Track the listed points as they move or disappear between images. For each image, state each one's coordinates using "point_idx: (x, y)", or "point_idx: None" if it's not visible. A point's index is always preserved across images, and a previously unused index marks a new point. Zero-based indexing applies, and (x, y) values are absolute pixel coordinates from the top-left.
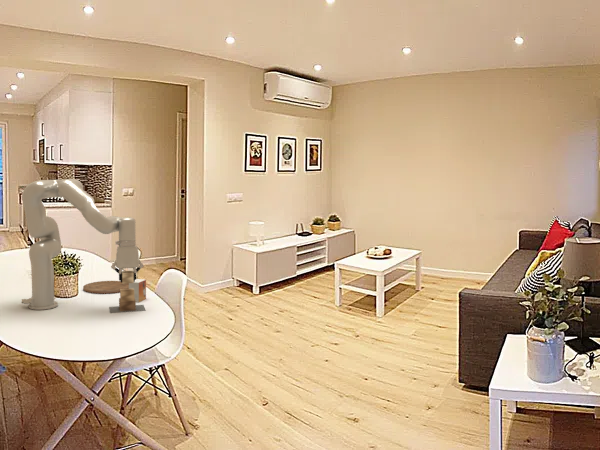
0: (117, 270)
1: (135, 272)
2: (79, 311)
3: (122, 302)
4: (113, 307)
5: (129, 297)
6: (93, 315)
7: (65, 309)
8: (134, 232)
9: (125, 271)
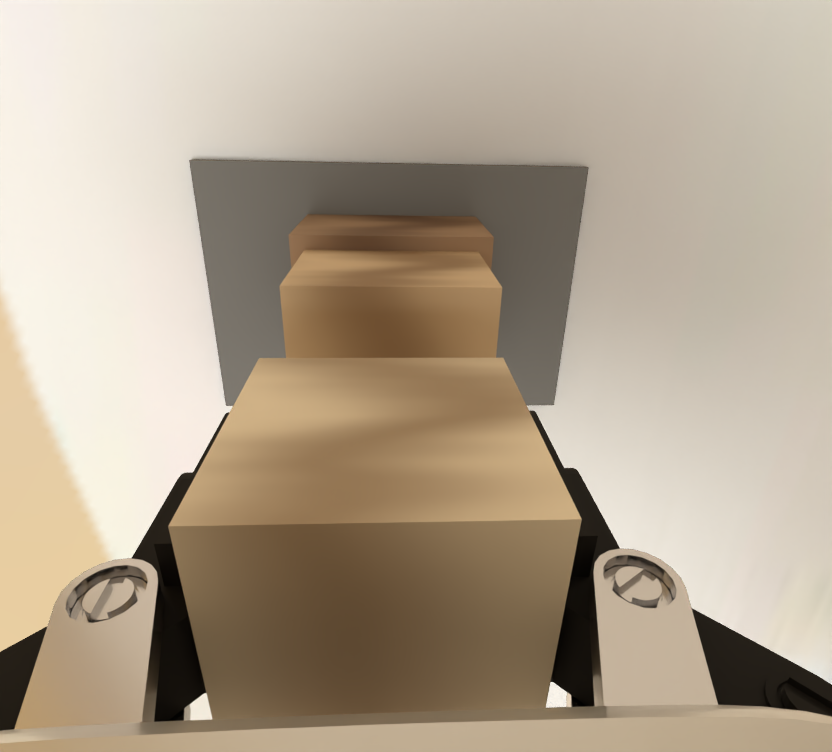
0: (749, 685)
1: (119, 593)
2: (823, 344)
3: (460, 234)
4: (517, 375)
5: (367, 260)
6: (754, 159)
7: None
8: None
9: (440, 701)
